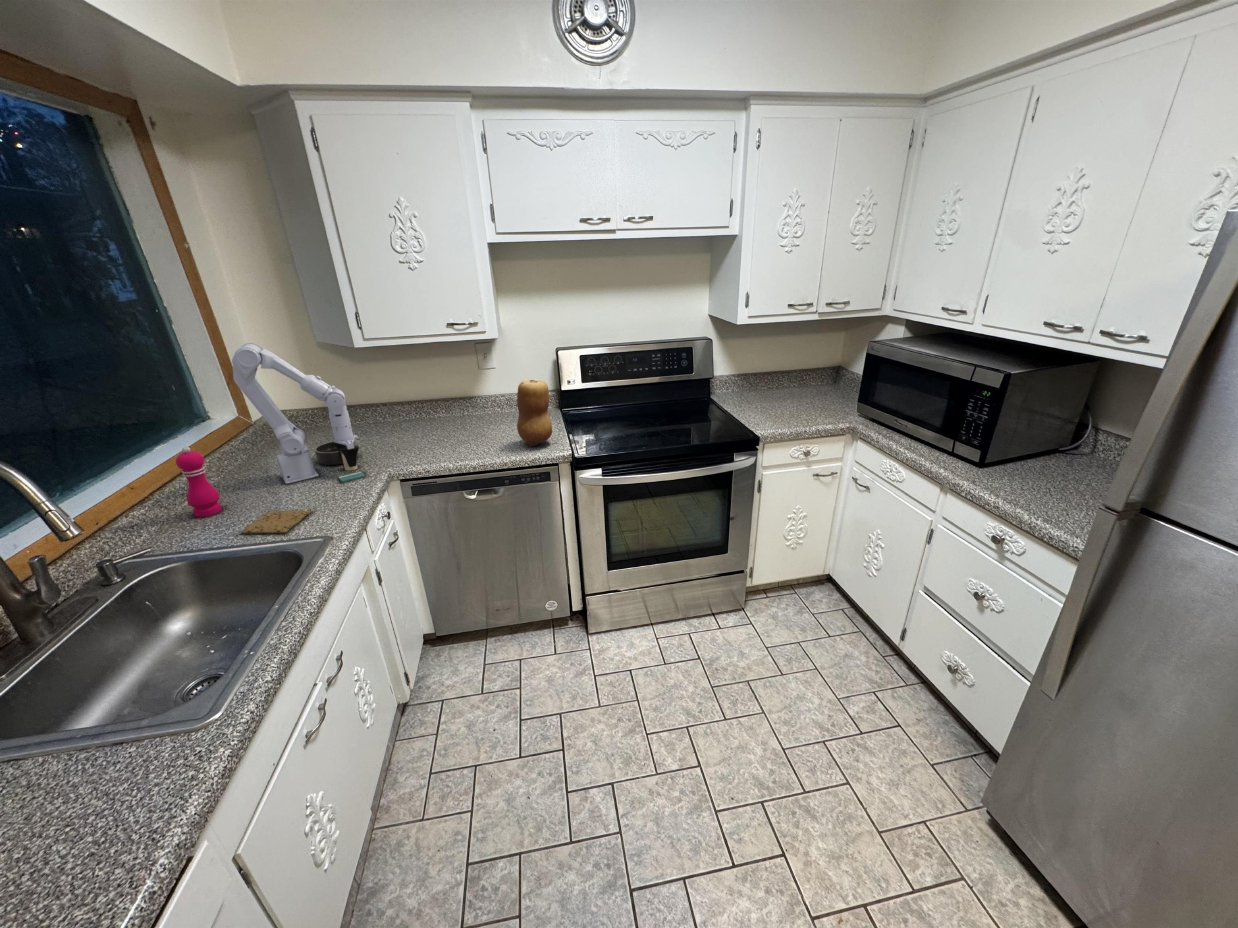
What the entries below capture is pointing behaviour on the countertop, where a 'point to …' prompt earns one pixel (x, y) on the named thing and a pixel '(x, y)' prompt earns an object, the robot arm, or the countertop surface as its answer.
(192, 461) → the pepper mill
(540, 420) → the butternut squash
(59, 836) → the countertop surface
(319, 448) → the dark round bowl
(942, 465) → the countertop surface
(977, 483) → the countertop surface
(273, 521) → the brown square cork trivet
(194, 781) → the countertop surface
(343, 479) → the teal rectangular slab
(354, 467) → the spice jar
